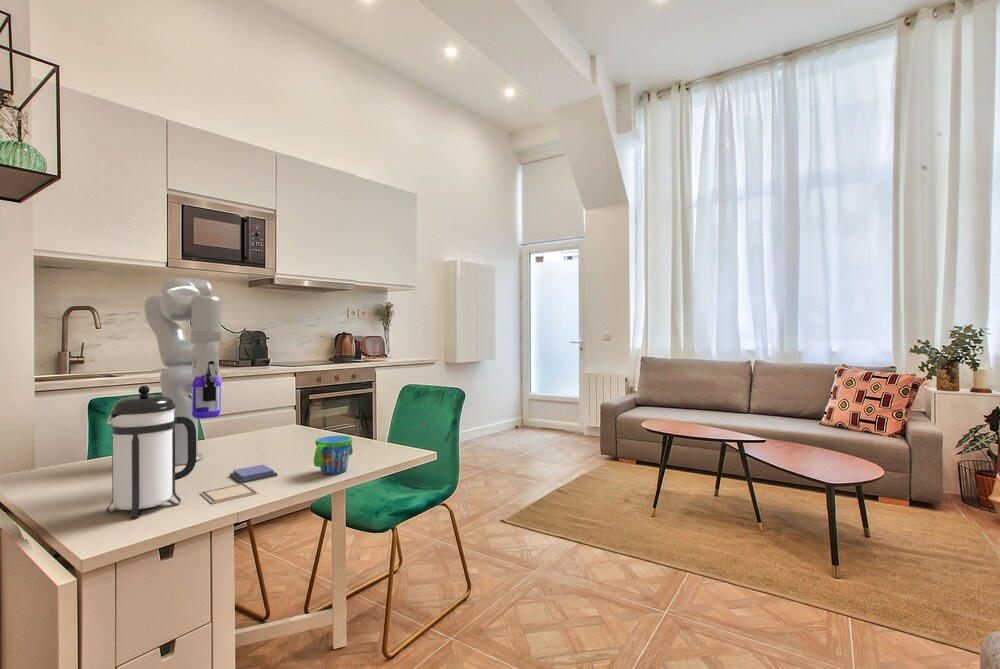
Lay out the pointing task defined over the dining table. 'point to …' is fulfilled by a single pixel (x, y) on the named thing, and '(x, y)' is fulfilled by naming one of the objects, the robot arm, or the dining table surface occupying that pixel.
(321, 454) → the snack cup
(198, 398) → the bottle
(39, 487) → the dining table surface
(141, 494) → the coffee press
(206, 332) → the robot arm
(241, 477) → the ink pad
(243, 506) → the dining table surface
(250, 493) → the marked card
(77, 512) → the dining table surface
